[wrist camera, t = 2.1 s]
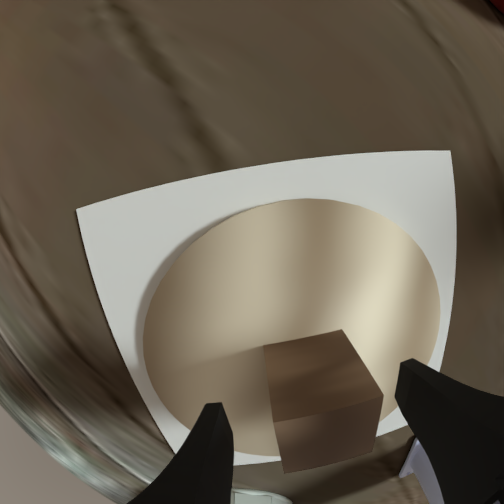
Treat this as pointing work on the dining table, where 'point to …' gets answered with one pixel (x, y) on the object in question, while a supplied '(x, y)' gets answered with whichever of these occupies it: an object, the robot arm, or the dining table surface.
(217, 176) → the mat
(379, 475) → the dining table surface
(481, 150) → the dining table surface
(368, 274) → the lid
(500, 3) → the apple
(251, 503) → the bowl
